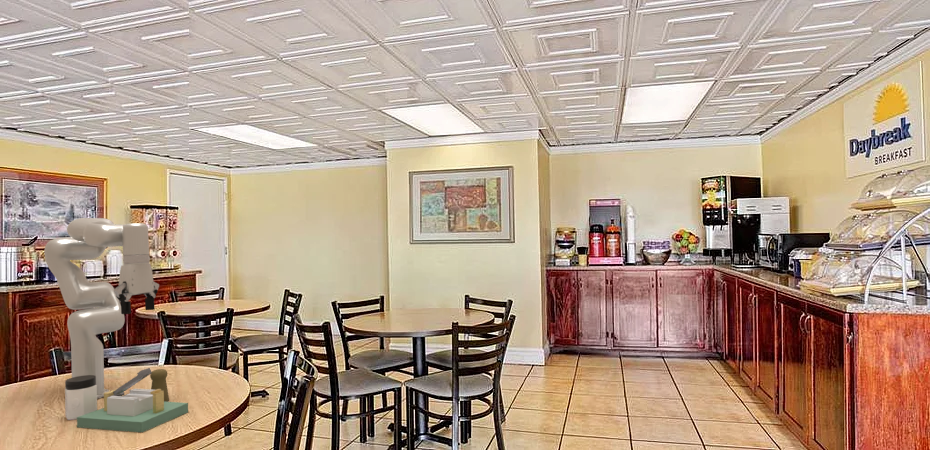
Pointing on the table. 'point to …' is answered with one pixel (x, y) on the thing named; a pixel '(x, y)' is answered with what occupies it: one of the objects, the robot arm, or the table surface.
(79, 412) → the jar
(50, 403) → the table surface
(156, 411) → the lug
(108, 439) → the table surface
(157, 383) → the cork
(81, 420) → the board
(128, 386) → the strap
